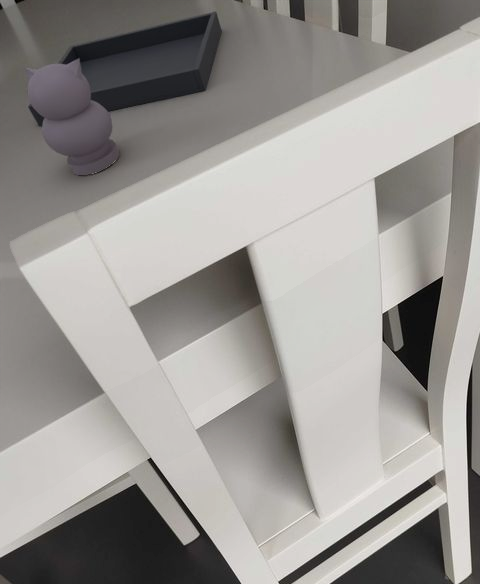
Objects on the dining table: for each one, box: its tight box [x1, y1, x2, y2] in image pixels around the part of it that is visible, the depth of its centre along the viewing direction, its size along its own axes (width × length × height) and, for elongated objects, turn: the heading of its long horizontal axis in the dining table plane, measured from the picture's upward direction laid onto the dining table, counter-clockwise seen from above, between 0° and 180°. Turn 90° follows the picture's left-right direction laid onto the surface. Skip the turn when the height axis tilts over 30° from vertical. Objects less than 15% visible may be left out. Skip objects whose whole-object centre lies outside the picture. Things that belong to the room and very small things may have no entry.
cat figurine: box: [23, 59, 120, 176], centre depth 70 cm, size 8×8×12 cm
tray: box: [27, 10, 222, 127], centre depth 90 cm, size 26×22×3 cm
